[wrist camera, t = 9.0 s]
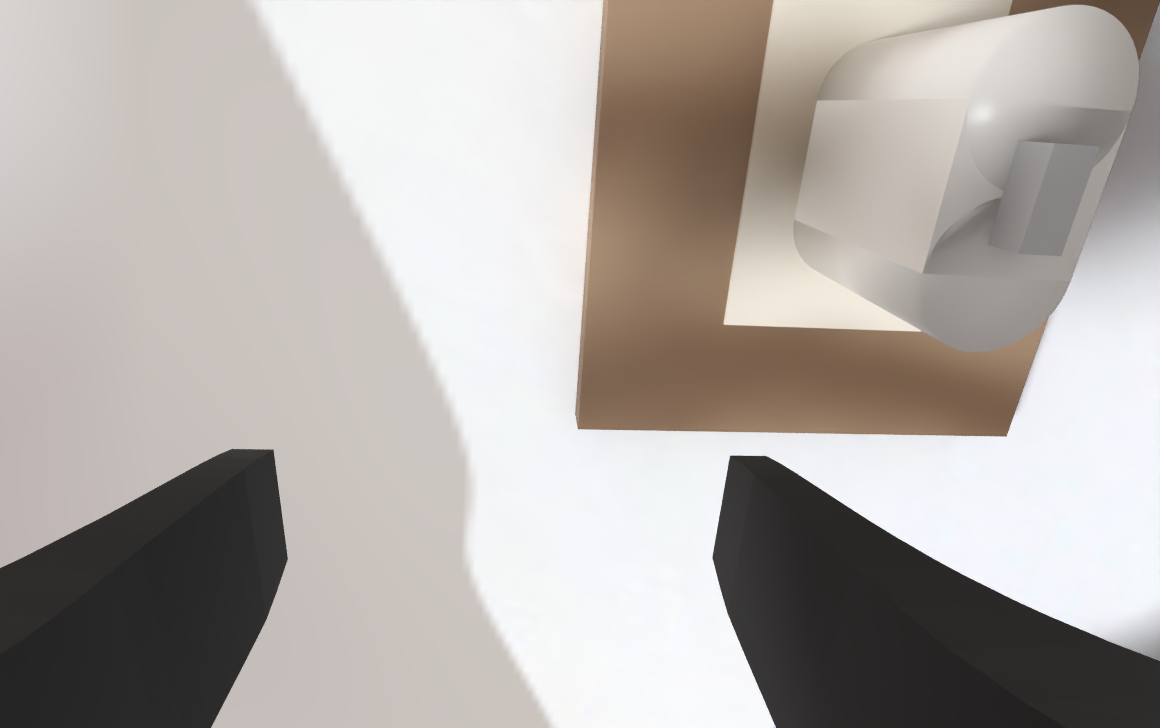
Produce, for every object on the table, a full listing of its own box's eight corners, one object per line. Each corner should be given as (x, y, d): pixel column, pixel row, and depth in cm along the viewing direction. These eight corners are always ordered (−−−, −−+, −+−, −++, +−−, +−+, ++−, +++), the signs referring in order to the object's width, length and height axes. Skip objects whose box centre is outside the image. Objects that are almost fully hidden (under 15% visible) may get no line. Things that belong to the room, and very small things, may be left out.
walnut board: (985, 422, 22) (1008, 437, 21) (575, 414, 20) (578, 430, 19) (1180, -158, 16) (1225, -175, 15) (618, -226, 14) (626, -252, 13)
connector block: (884, 278, 18) (1076, 370, 12) (783, 273, 18) (925, 365, 12) (943, 44, 16) (1217, 6, 10) (829, 34, 16) (1035, -12, 9)
